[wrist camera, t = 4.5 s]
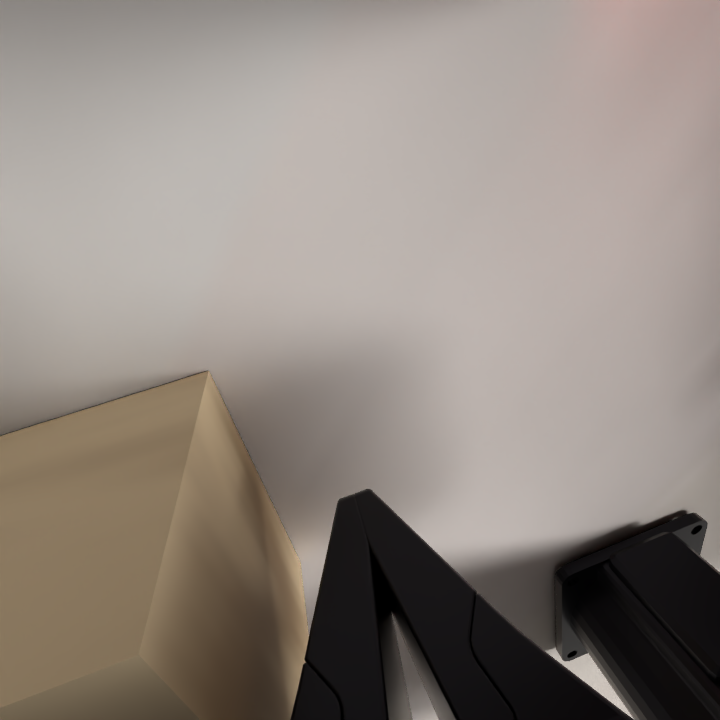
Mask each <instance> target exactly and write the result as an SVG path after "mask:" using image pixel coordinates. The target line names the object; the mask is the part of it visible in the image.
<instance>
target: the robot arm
mask: <svg viewBox="0 0 720 720" xmlns="http://www.w3.org/2000/svg"><path fill="white" fill-rule="evenodd" d="M706 529H707V522H706V521H705V520H704V519H703V518H701V517H700V516H699V515H698V514H696V513H690V514H687V515H685V516H682V517H680V518H677V519H675V520H673V521H670V522H668V523H665V524H663V525H660V526H658V527H656V528H653V529H651V530H648V531H646V532H644V533H641V534H639V535H636V536H634V537H631V538H629V539H627V540H624V541H622V542H619V543H617V544H614V545H612V546H610V547H607V548H605V549H602V550H600V551H598V552H595V553H593V554H590V555H588V556H585V557H583V558H581V559H578V560H576V561H573V562H571V563H569V564H566V565H564V566H562V567H561V568H560V569H559V570H558V571H557V572H556V574H555V609H556V650H557V652H558V653H559V655H560V656H561V658H562V660H563V661H570V660H573V659H575V658H577V657H580V656H582V655H584V654H586V653H589V655H590V656H591V658H592V659H593V660H594V662H595V663H596V665H597V666H598V668H599V669H600V671H601V672H602V673H603V675H604V676H605V678H606V679H607V681H608V682H609V684H610V685H611V686H612V688H613V689H614V691H615V692H616V694H617V695H618V697H619V698H620V699H621V701H622V702H623V704H624V705H625V707H626V708H627V710H628V711H629V712H630V714H631V715H632V717H633V718H634V719H632V718H631V717H630V716H628V715H627V714H625V713H624V712H623V711H621V710H620V709H619V708H618V707H616V706H615V705H614V704H612V703H611V702H610V701H608V700H607V699H606V698H605V697H603V696H602V695H601V694H599V693H598V692H597V691H596V690H594V689H593V688H592V687H590V686H589V685H588V684H586V683H585V682H584V681H583V680H581V679H580V678H579V677H577V676H576V675H575V674H573V673H572V672H571V671H570V670H568V669H567V668H566V667H564V666H563V665H562V664H560V663H559V662H558V661H557V660H555V659H554V658H553V657H551V656H550V655H549V654H548V653H546V652H545V651H544V650H543V649H541V648H540V647H539V646H538V645H536V644H535V643H534V642H533V641H532V640H530V639H529V638H528V637H527V636H525V635H524V634H523V633H522V632H520V631H519V630H518V629H517V628H516V627H515V626H514V625H513V624H511V623H510V622H509V621H508V620H507V619H506V618H505V617H504V616H503V615H502V614H500V613H499V612H498V611H497V610H496V609H495V608H494V607H493V606H492V605H491V604H490V603H489V602H488V601H487V600H486V599H484V598H483V597H482V596H481V595H480V594H477V593H476V590H475V589H474V588H473V587H472V586H471V585H470V584H469V583H468V582H467V581H465V580H464V579H463V578H462V577H461V576H460V575H459V574H458V573H457V572H456V571H455V570H454V569H453V568H452V567H451V566H450V565H449V564H448V563H447V562H446V561H445V560H444V559H443V558H442V557H441V556H440V555H438V554H437V553H436V552H435V551H434V550H433V549H432V548H431V547H430V546H429V545H428V544H427V543H426V542H425V541H424V540H423V539H422V538H421V537H420V536H419V535H418V534H417V533H416V532H415V531H414V530H412V529H411V528H410V527H409V526H408V525H407V524H406V523H405V522H404V521H403V520H402V519H401V518H400V517H399V516H398V515H397V514H396V513H395V512H394V511H393V510H392V509H391V508H390V507H389V506H388V505H387V504H385V503H384V502H383V501H382V500H381V499H380V498H379V497H378V496H377V495H376V494H375V493H374V492H373V491H372V490H370V489H366V490H363V491H360V492H358V493H355V494H352V495H349V496H346V497H344V498H341V499H339V501H338V503H337V508H336V512H335V517H334V522H333V526H332V531H331V536H330V540H329V545H328V550H327V555H326V559H325V564H324V569H323V573H322V578H321V583H320V587H319V592H318V597H317V602H316V606H315V611H314V616H313V620H312V625H311V630H310V635H309V639H308V644H307V649H306V653H305V658H304V660H305V662H306V663H304V664H303V667H302V671H301V676H300V681H299V685H298V690H297V694H296V698H295V702H294V707H293V711H292V715H291V719H290V720H412V715H411V709H410V704H409V699H408V694H407V689H406V684H405V679H404V673H403V668H402V663H401V658H400V653H399V648H398V643H397V638H396V632H395V627H394V622H393V617H392V614H393V616H394V618H395V621H396V623H397V625H398V627H399V630H400V632H401V634H402V637H403V639H404V641H405V643H406V646H407V648H408V650H409V652H410V655H411V657H412V659H413V662H414V664H415V666H416V668H417V671H418V673H419V675H420V677H421V680H422V682H423V684H424V687H425V689H426V691H427V693H428V696H429V698H430V700H431V702H432V705H433V707H434V709H435V712H436V714H437V716H438V718H439V720H720V572H719V571H717V570H716V569H715V568H714V567H713V566H712V565H710V564H709V563H708V562H707V561H706V560H705V559H703V558H702V557H701V556H700V553H701V549H702V545H703V541H704V537H705V533H706Z"/></svg>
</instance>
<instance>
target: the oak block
mask: <svg viewBox="0 0 720 720" xmlns="http://www.w3.org/2000/svg"><path fill="white" fill-rule="evenodd" d="M308 639H309V633H308V624H307V615H306V607H305V598H304V589H303V580H302V571H301V563H300V560H299V558H298V556H297V554H296V552H295V550H294V548H293V546H292V544H291V542H290V540H289V537H288V535H287V533H286V531H285V529H284V527H283V525H282V523H281V521H280V519H279V517H278V514H277V512H276V510H275V508H274V506H273V504H272V502H271V500H270V498H269V496H268V494H267V491H266V489H265V487H264V485H263V483H262V481H261V479H260V477H259V475H258V473H257V471H256V468H255V466H254V464H253V462H252V460H251V458H250V456H249V454H248V452H247V450H246V448H245V445H244V443H243V441H242V439H241V437H240V435H239V433H238V431H237V429H236V427H235V425H234V422H233V420H232V418H231V416H230V414H229V412H228V410H227V408H226V406H225V404H224V402H223V399H222V397H221V395H220V393H219V391H218V389H217V387H216V385H215V383H214V381H213V379H212V376H211V374H210V372H209V371H206V372H203V373H200V374H197V375H193V376H190V377H187V378H184V379H181V380H177V381H174V382H171V383H168V384H165V385H161V386H158V387H155V388H152V389H149V390H146V391H142V392H139V393H136V394H133V395H130V396H126V397H123V398H120V399H117V400H114V401H110V402H107V403H104V404H101V405H98V406H95V407H91V408H88V409H85V410H82V411H79V412H75V413H72V414H69V415H66V416H63V417H59V418H56V419H53V420H50V421H47V422H44V423H40V424H37V425H34V426H31V427H28V428H24V429H21V430H18V431H15V432H12V433H8V434H5V435H2V436H0V720H290V719H291V715H292V711H293V707H294V702H295V698H296V694H297V690H298V685H299V681H300V676H301V671H302V667H303V664H304V663H306V662H305V660H304V658H305V653H306V649H307V644H308Z"/></svg>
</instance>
